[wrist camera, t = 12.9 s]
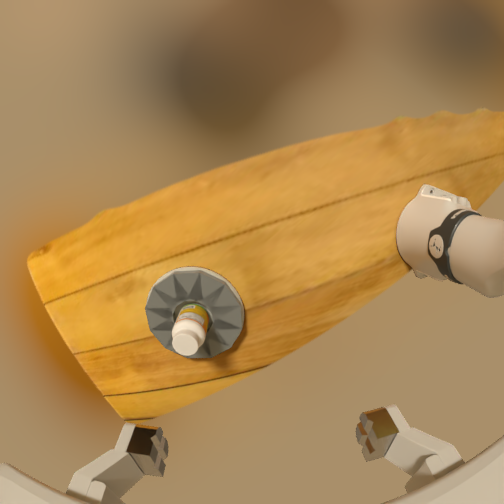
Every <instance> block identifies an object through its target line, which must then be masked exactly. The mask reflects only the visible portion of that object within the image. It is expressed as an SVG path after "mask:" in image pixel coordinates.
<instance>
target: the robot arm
mask: <svg viewBox="0 0 504 504" xmlns="http://www.w3.org/2000/svg"><path fill="white" fill-rule="evenodd" d="M430 191H431V193H430ZM396 239H397V246H398V250H399V253H400V255H401V257H402V258H403V259H404V261H405V262H406V263H408V264H409V265H410V266H411V267H412V268H413V271H414V273H415V275H416V277H418V278H424V277H427V276H429V277H432V278H434V279H436V280H438V281H443V280H445V279H449V280H450V281H452V282H455V283H458V284H465V285H466V286H469V287H470V288H472V289H474V290H475V291H477V292H479V293H481V294H482V295H484V296H486V297H489V298H494V297H499V296H502V295H504V220H500V219H493V218H488V217H483V216H481V215H480V214H479V213H478V212H477V211H474V210H472V209H471V206H470V203H469V201H468V200H467V198H463V197H458V196H456V195H453V194H451V193H448V192H446V191H443V190H441V189H438V188H435V187H433V186H430V185H427V184H424V185H423V186H422V187H421V188H420V190H419V192H418V194H417V196H416V197H415V198H414V199H413V200H412V201H411V202H409V203H408V205H407V206H406V207H405V208H404V210H403V212H402V214H401V216H400V218H399V221H398V225H397V233H396ZM360 421H361V422H360V423H359V424H357V428H356V437H357V440H358V443H359V444H361V445H362V446H363V449H362V453H363V455H364V457H365V460H366V462H367V461H371V460H375V459H378V458H381V457H384V458H385V459H387V460H388V461H390V462H391V463H393V464H394V465H396V466H397V467H399V468H400V469H402V470H403V471H405V472H406V473H408V474H409V475H411V476H412V478H411V479H410V480H409V481H408V482H407V483H406V485H405V488H406V491H407V494H405V495H402V496H400V497H397V498H395V499H392V500H390V501H387V502H384V503H382V504H504V435H503V436H502V437H501V438H499V439H498V440H497V441H496V442H494V443H493V444H492V445H490V446H489V447H488V448H486V449H485V450H483V451H482V452H481V453H479V454H478V455H476V456H475V457H473V458H472V459H470V460H469V461H467V462H466V463H465V462H464V461H463V459H462V458H461V456H460V455H459V453H458V452H457V450H456V449H455V447H454V446H453V445H452V444H450V443H448V442H445V441H443V440H441V439H438V438H436V437H434V436H431V435H429V434H427V433H425V432H422V431H420V430H418V429H416V428H414V427H413V428H410V427H409V425H408V424H407V422H406V420H405V419H404V417H403V416H402V414H401V413H400V411H399V409H398V408H397V406H396V405H395V404H392V405H389V406H386V407H381V408H378V409H374V410H371V411H367V412H363V413H362V414H361V415H360ZM162 435H163V431H162V429H161V427H153V426H146V425H139V424H133V423H126V424H125V425H124V427H123V429H122V431H121V434H120V436H119V439H118V441H117V444H116V447H115V449H114V450H113V449H111V450H109V451H108V452H106V453H105V454H103V455H102V456H100V457H99V458H97V459H96V460H94V461H92V462H91V463H89V464H88V465H86V466H85V467H83V468H81V469H80V470H78V471H76V472H75V473H74V476H73V478H72V480H71V482H70V485H69V487H68V490H67V492H66V494H65V493H63V492H61V491H59V490H56V489H54V488H52V487H50V486H48V485H46V484H44V483H42V482H40V481H38V480H36V479H35V478H32V477H31V476H29V475H27V474H26V473H24V472H22V471H21V470H19V469H17V468H16V467H14V466H12V465H11V464H8V463H3V464H0V504H125V503H124V502H123V501H122V500H121V499H120V498H121V497H122V496H123V495H124V494H125V493H126V492H127V491H128V490H129V489H130V488H132V486H134V485H135V484H136V483H137V482H138V481H139V480H140V479H141V478H142V477H143V476H144V474H145V475H152V476H160V477H163V474H164V470H165V466H166V465H165V463H164V461H163V460H164V459H166V458H167V456H168V442H167V440H166V438H164V437H163V436H162Z"/></svg>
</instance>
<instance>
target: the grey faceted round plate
mask: <svg viewBox="0 0 504 504" xmlns="http://www.w3.org/2000/svg"><path fill="white" fill-rule="evenodd" d="M189 303H197V304H200V305H202V306H203V307H204V308H205V309H206V310H207V311H208V314H209V323H208V328H207V332H206V337H205V341H204V343H203V344H202V345H201V346H200V347H199V348H198V350H197V352H196V353H195V354H193V355H189V356H185V355H182V356H184V357H186V358H212V357H214V356H216V355H218V354H220V353H222V352H224V351H225V350H227V349H229V348H231V347H232V345H233V343H234V342H235V340H236V339H237V338H238V336H239V334H240V332H241V330H242V327H243V323H244V307H243V303H242V300H241V298H240V295H239V293H238V292H237V290H236V289H235V288H234V286H233V285H232V284H231V283H230V282H229V281H228V280H227V279H226V278H224V277H223V276H221V275H220V274H218V273H216V272H214V271H212V270H209V269H206V268H202V267H196V266H187V267H180V268H176V269H173V270H171V271H169V272H167V273H165V274H164V275H163V276H161V277H160V278H159V279H158V280H157V281H156V282H155V284H154V285H153V287H152V288H151V290H150V292H149V295H148V298H147V304H146V307H145V310H146V315H147V319H148V324H149V328H150V331H151V332H152V333H153V334H154V336H155V337H156V338H157V339H158V340H159V341H160V342H161V344H162V345H163V346H164V347H165V348H166V349H168V350H171V351H173V352H175V353H177V354H179V353H178V352H176V351H175V349H174V348H173V345H172V341H173V337H172V329H173V327H174V324H175V322H176V320H177V317H178V315H179V313H180V311H181V309H182V308H183V307H184V306H185V305H186V304H189ZM180 355H181V354H180Z"/></svg>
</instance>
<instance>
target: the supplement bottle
mask: <svg viewBox="0 0 504 504" xmlns="http://www.w3.org/2000/svg"><path fill="white" fill-rule="evenodd" d="M208 323H209V314H208V311H207V310H206V309H205V308H204V307H203V306H202V305H200V304H197V303H189V304H186V305H185V306H184V307H183V308H182V309H181V311H180V313H179V315H178V317H177V320H176V322H175V324H174V327H173V329H172V337H173V341H172V345H173V348H174V349H175V351H176V352H178V353H179V354H181V355H185V356H189V355H193V354H195V353H196V352H197V350H198V348H199V347H200V346H201V345H202V344H203V343H204V341H205V337H206V332H207V328H208Z"/></svg>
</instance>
